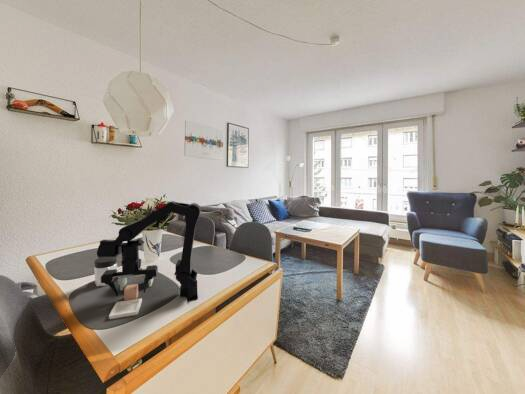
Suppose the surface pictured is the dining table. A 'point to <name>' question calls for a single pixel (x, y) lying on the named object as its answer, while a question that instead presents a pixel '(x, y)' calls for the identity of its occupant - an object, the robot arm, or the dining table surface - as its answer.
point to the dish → (125, 308)
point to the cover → (124, 279)
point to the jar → (103, 268)
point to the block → (131, 292)
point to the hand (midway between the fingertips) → (131, 294)
